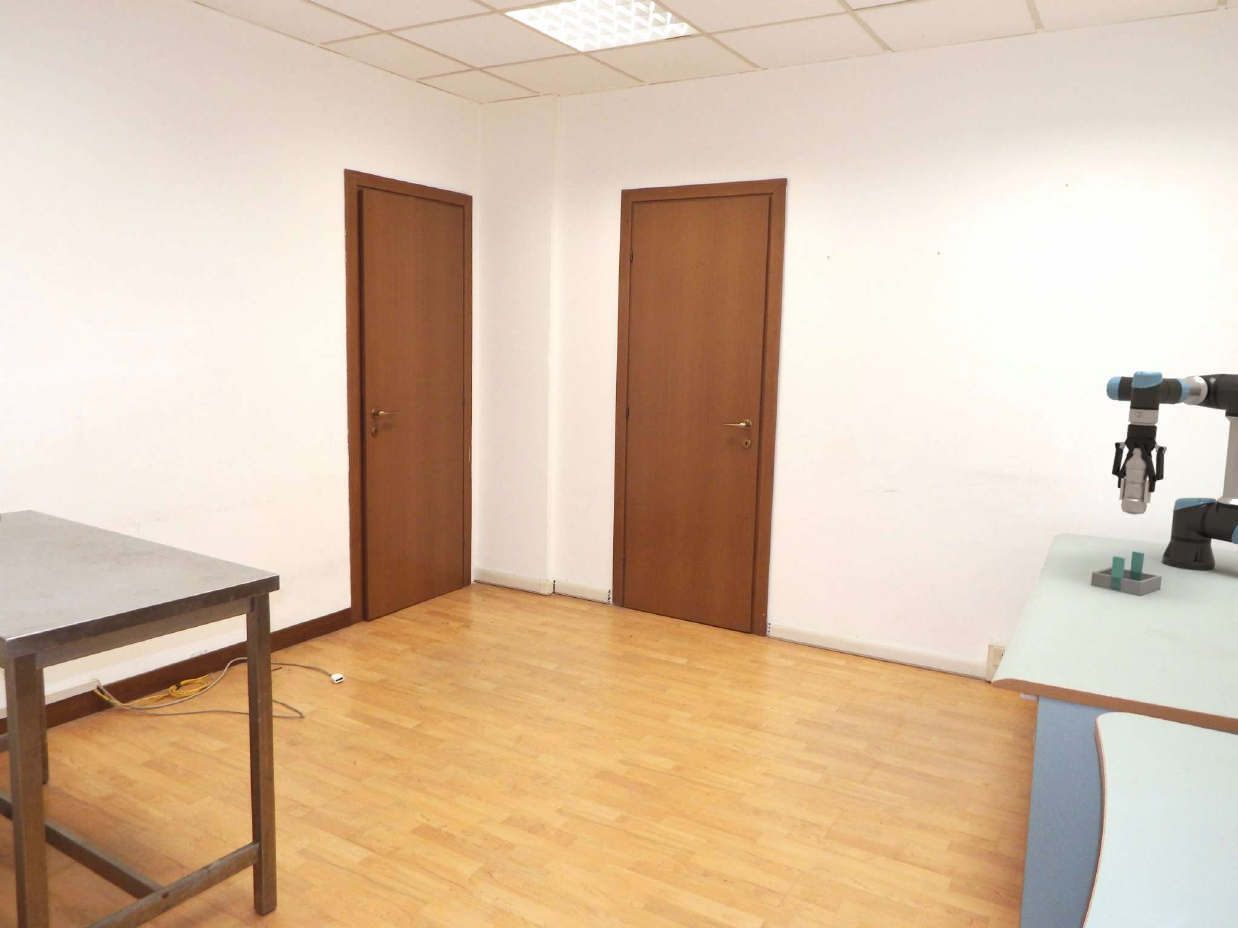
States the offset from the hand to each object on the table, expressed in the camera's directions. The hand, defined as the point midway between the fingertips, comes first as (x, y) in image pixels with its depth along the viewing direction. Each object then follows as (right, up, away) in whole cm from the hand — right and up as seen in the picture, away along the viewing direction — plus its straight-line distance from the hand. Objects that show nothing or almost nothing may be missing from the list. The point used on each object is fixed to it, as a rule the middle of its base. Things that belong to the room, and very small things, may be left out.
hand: (1134, 501), depth 270 cm
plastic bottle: (0, -4, +1) cm, 4 cm away
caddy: (-1, -26, +3) cm, 26 cm away
